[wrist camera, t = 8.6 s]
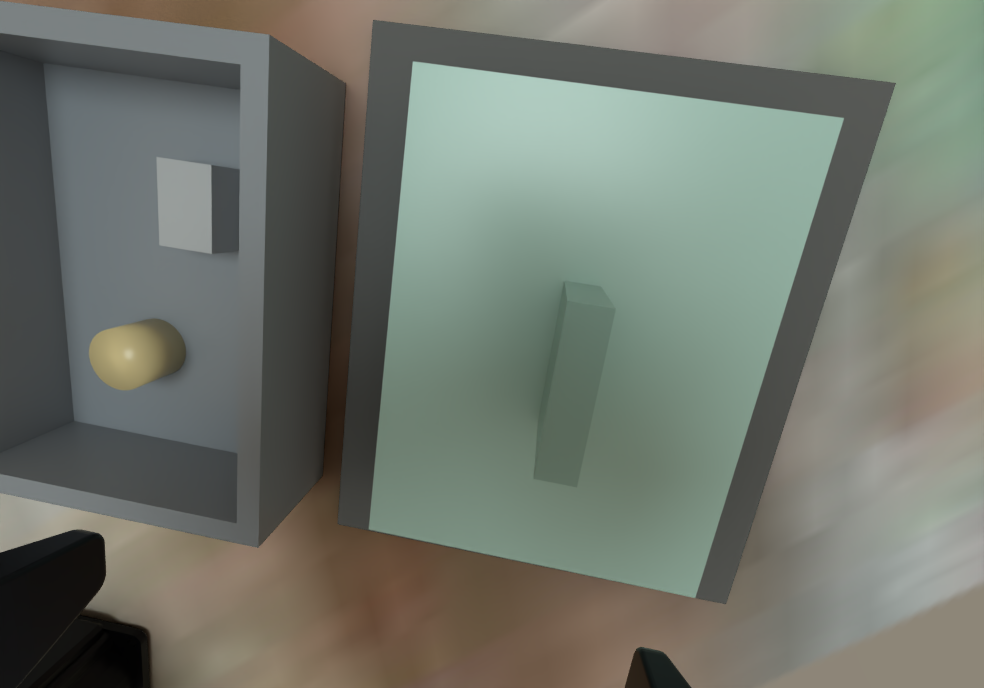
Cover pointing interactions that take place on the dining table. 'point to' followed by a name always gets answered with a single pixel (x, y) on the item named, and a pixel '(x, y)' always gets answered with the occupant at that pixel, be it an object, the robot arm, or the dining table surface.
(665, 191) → the lid
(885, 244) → the dining table surface
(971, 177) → the dining table surface
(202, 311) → the tub
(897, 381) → the dining table surface
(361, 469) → the mat
